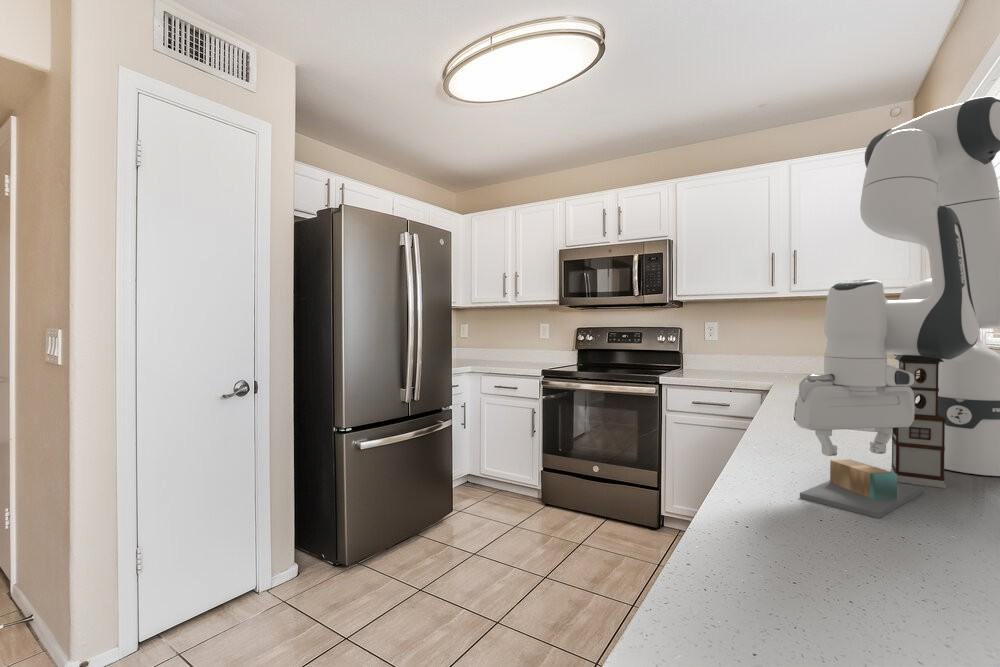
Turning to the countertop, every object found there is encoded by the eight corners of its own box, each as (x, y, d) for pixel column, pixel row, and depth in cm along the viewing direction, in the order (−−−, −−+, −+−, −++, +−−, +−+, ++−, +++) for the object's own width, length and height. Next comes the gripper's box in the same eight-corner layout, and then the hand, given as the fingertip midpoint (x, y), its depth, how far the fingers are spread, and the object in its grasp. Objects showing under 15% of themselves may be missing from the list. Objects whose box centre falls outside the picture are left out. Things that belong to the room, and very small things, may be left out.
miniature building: (893, 481, 92) (895, 318, 92) (889, 472, 98) (891, 318, 97) (946, 488, 88) (948, 318, 88) (938, 478, 94) (940, 318, 94)
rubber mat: (849, 476, 95) (849, 472, 95) (922, 492, 86) (922, 487, 86) (799, 497, 83) (799, 492, 83) (878, 518, 74) (878, 512, 74)
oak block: (830, 460, 89) (875, 475, 80) (850, 459, 89) (897, 474, 80) (830, 482, 89) (875, 500, 80) (850, 481, 89) (896, 498, 81)
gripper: (814, 376, 82) (813, 461, 82) (923, 374, 84) (922, 456, 85) (786, 373, 88) (786, 451, 88) (889, 371, 91) (888, 447, 91)
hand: (853, 454), depth 86 cm, fingers open, 8 cm apart
